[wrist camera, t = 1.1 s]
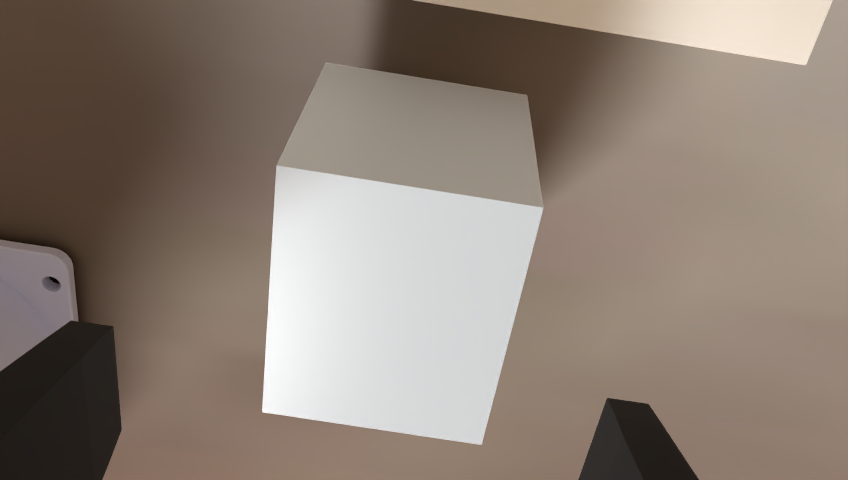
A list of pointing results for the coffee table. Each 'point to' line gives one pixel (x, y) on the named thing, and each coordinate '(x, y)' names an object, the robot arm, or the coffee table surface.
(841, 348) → the coffee table surface
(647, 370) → the coffee table surface
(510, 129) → the plug
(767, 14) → the socket board
